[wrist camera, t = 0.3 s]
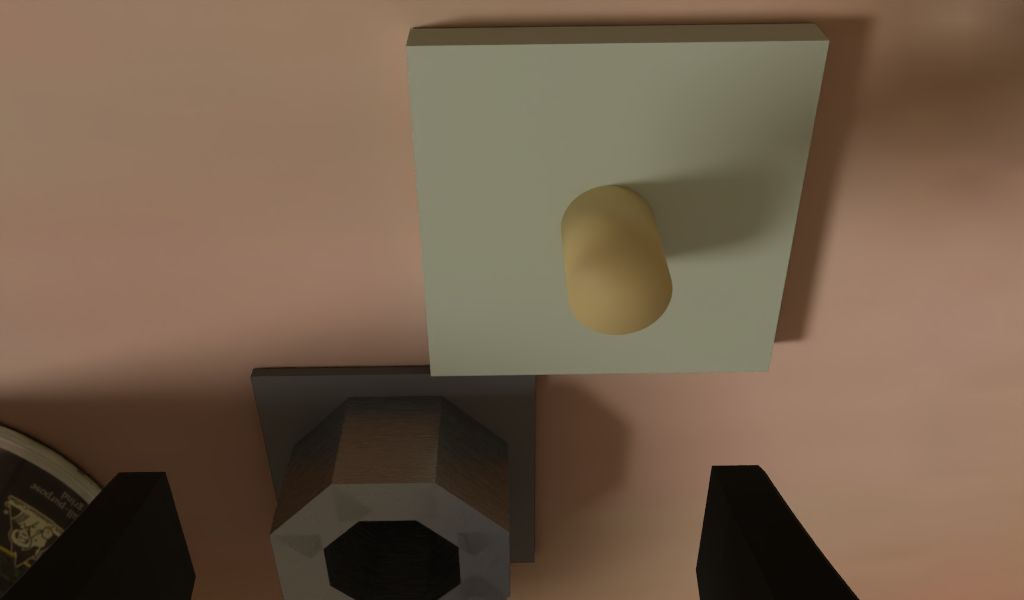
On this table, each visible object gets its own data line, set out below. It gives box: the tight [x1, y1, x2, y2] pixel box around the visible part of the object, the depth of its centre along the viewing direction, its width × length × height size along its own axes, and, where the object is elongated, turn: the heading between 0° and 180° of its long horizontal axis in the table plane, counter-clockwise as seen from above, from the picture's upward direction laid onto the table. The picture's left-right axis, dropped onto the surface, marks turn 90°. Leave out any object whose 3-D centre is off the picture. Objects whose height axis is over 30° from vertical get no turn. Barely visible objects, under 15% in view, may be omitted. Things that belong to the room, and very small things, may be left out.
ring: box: [269, 396, 510, 600], centre depth 24 cm, size 6×6×3 cm
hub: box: [406, 23, 830, 376], centre depth 19 cm, size 8×8×4 cm
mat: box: [251, 366, 535, 563], centre depth 25 cm, size 7×7×1 cm
